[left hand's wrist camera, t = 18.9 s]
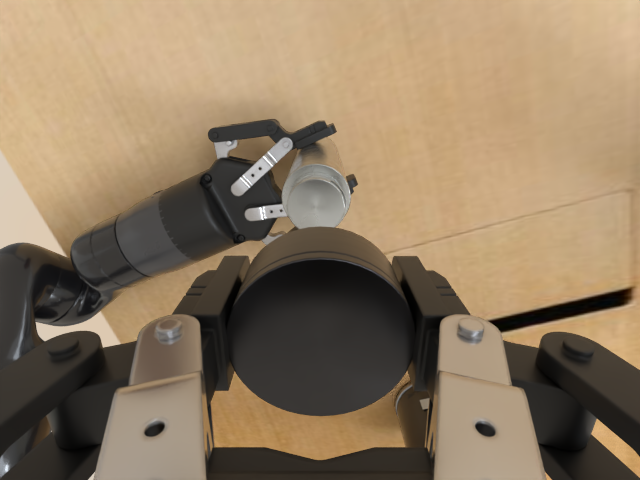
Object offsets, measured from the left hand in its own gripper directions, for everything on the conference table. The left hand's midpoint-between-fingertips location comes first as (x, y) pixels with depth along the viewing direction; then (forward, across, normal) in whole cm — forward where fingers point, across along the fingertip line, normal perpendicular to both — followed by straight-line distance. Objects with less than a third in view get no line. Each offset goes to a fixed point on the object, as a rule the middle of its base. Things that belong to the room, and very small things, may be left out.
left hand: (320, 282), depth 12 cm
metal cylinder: (+29, 0, 0) cm, 29 cm away
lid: (-3, 0, 0) cm, 3 cm away
